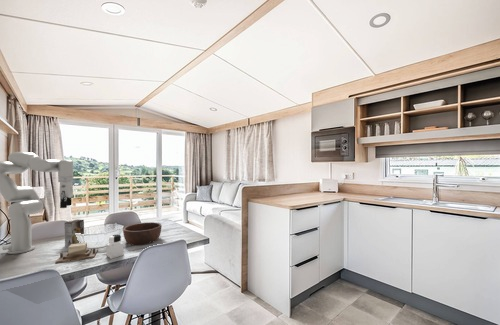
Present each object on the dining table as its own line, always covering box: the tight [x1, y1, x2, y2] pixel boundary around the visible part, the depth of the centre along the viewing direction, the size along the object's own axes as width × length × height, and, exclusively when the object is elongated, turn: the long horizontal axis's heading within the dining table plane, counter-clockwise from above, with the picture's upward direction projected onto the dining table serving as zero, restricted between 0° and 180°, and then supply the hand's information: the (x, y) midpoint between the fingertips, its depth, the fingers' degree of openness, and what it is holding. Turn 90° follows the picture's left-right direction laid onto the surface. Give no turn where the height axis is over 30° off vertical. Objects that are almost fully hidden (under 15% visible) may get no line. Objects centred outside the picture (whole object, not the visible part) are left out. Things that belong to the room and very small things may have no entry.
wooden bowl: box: [122, 221, 162, 246], centre depth 167 cm, size 25×25×10 cm
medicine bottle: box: [105, 234, 125, 259], centre depth 140 cm, size 7×7×12 cm
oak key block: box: [68, 242, 88, 256], centre depth 139 cm, size 4×8×6 cm, turn 114°
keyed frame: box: [54, 247, 99, 264], centre depth 139 cm, size 18×13×4 cm
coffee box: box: [64, 219, 85, 247], centre depth 162 cm, size 9×6×16 cm
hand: (65, 206), depth 148 cm, fingers open, 9 cm apart
